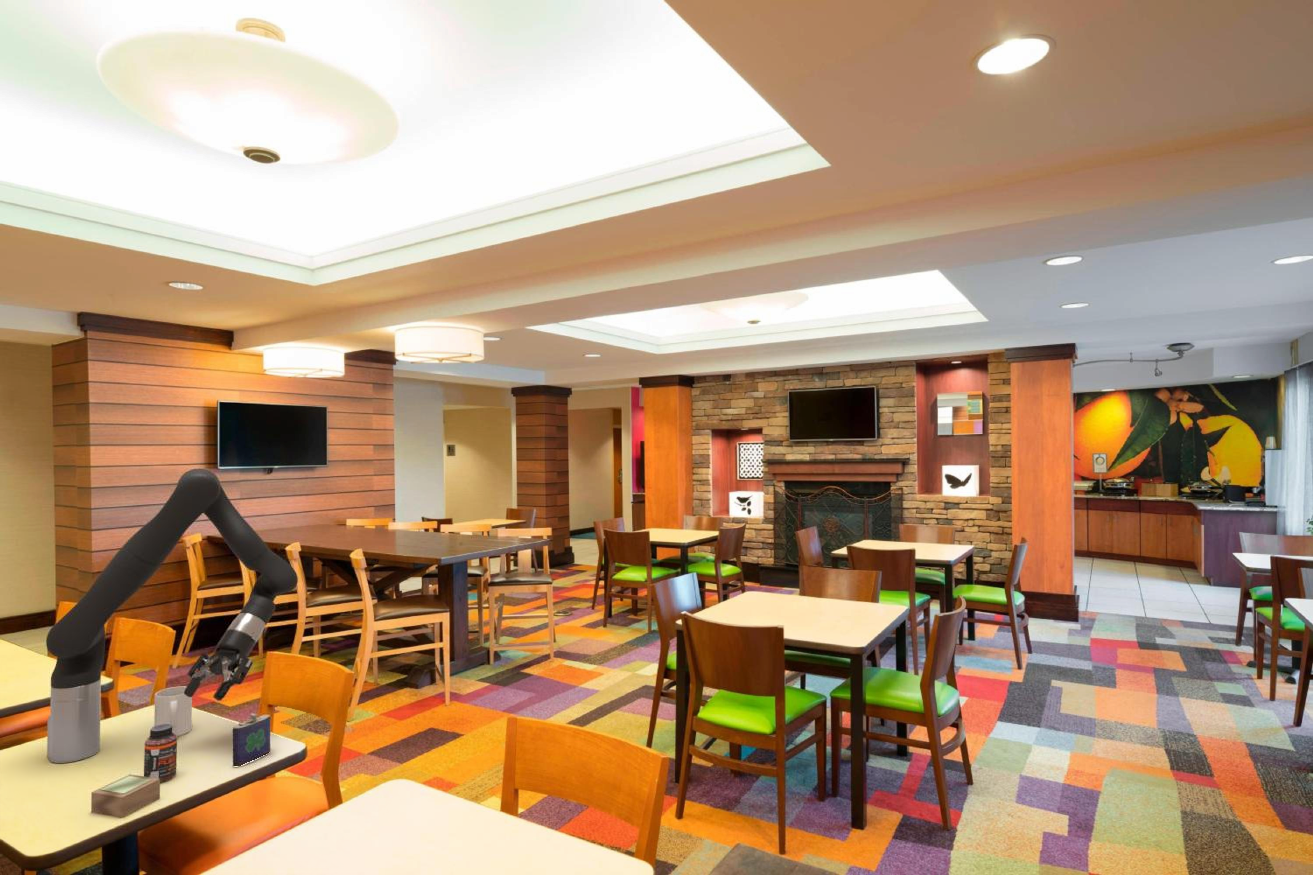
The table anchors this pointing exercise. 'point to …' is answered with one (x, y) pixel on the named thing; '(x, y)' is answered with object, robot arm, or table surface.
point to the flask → (251, 739)
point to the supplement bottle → (160, 753)
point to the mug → (174, 709)
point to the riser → (125, 795)
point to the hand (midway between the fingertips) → (202, 697)
